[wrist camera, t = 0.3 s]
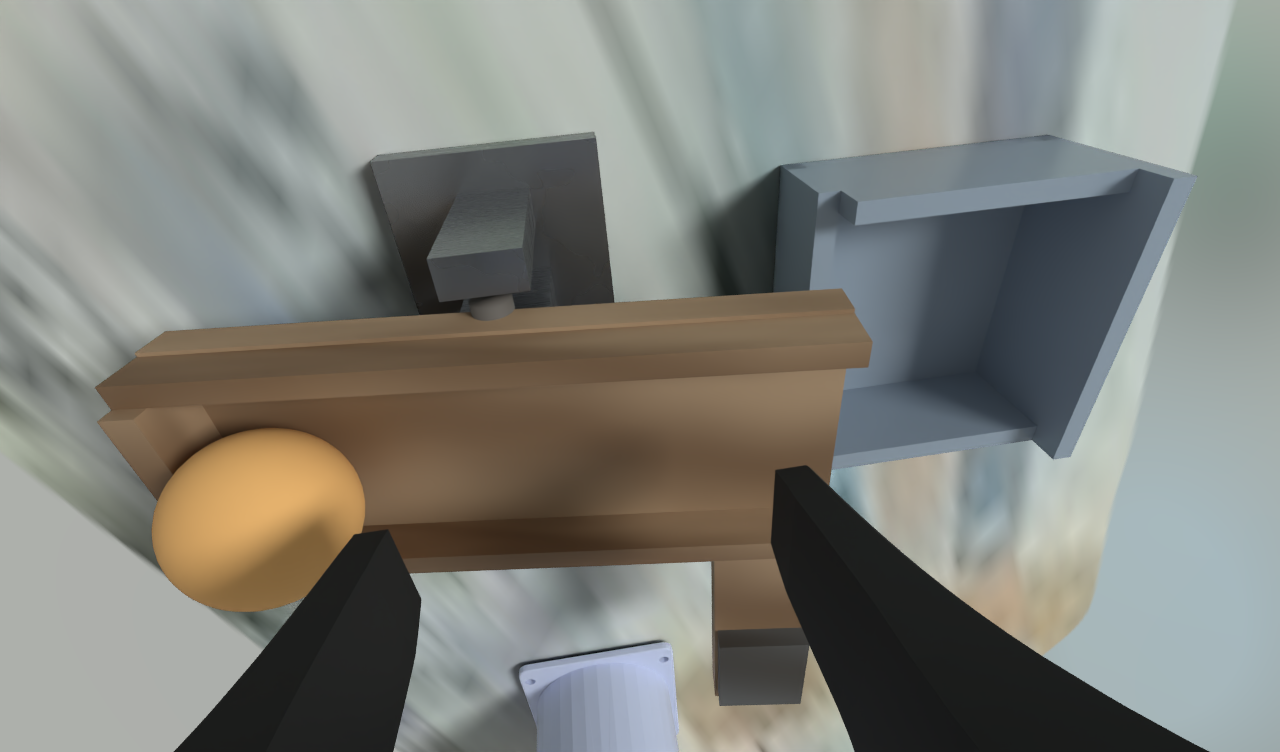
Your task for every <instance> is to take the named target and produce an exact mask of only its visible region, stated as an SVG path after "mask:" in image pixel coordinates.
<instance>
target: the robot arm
mask: <svg viewBox="0 0 1280 752" xmlns="http://www.w3.org/2000/svg"><path fill="white" fill-rule="evenodd" d="M771 546H772V549H773V552H774V555H775V559H776V562H777V565H778V568H779V572H780V575H781V578H782V581H783V584H784V587H785V590H786V593H787V595H788V598H789V600H790V602H791V605H792V607H793V609H794V611H795V614H796V616H797V618H798V620H799V623H800V625H801V627H802V629H803V632H804V634H805V636H806V638H807V641H808V643H809V645H810V647H811V649H812V652H813V654H814V656H815V658H816V661H817V663H818V665H819V667H820V669H821V672H822V674H823V676H824V678H825V681H826V683H827V685H828V687H829V689H830V692H831V694H832V696H833V698H834V701H835V703H836V705H837V707H838V710H839V712H840V714H841V717H842V719H843V722H844V724H845V727H846V729H847V732H848V734H849V737H850V740H851V742H852V745H853V748H854V751H855V752H1209V751H1207V750H1205V749H1203V748H1201V747H1199V746H1197V745H1195V744H1193V743H1191V742H1189V741H1187V740H1186V739H1184V738H1182V737H1180V736H1178V735H1176V734H1175V733H1173V732H1171V731H1169V730H1167V729H1166V728H1164V727H1162V726H1160V725H1158V724H1156V723H1154V722H1153V721H1151V720H1149V719H1147V718H1145V717H1144V716H1142V715H1140V714H1138V713H1136V712H1135V711H1133V710H1131V709H1129V708H1127V707H1126V706H1123V705H1122V704H1121V703H1119V702H1117V701H1115V700H1114V699H1112V698H1110V697H1108V696H1107V695H1105V694H1103V693H1102V692H1100V691H1098V690H1097V689H1095V688H1094V687H1092V686H1090V685H1089V684H1087V683H1085V682H1084V681H1082V680H1080V679H1079V678H1077V677H1076V676H1074V675H1072V674H1070V673H1069V672H1067V671H1066V670H1064V669H1062V668H1061V667H1059V666H1058V665H1056V664H1054V663H1053V662H1051V661H1049V660H1048V659H1046V658H1044V657H1043V656H1041V655H1040V654H1038V653H1037V652H1035V651H1034V650H1032V649H1031V648H1029V647H1028V646H1026V645H1025V644H1023V643H1022V642H1020V641H1019V640H1017V639H1015V638H1014V637H1012V636H1011V635H1009V634H1008V633H1007V632H1005V631H1004V630H1002V629H1001V628H999V627H998V626H997V625H995V624H994V623H992V622H991V621H990V620H988V619H987V618H985V617H984V616H982V615H981V614H980V613H978V612H977V611H975V610H974V609H973V608H971V607H970V606H969V605H967V604H966V603H965V602H963V601H962V600H961V599H959V598H958V597H957V596H955V595H954V594H953V593H951V592H950V591H949V590H948V589H946V588H945V587H944V586H943V585H941V584H940V583H939V582H937V581H936V580H935V579H934V578H932V577H931V576H930V575H929V574H927V573H926V572H925V571H924V570H922V569H921V568H920V567H919V566H918V565H916V564H915V563H914V562H913V561H912V560H910V559H909V558H908V557H907V556H906V555H904V554H903V553H902V552H901V551H900V550H899V549H897V548H896V547H895V546H894V545H893V544H892V543H891V542H889V541H888V540H887V539H886V538H885V537H884V536H883V535H881V534H880V533H879V532H878V531H877V530H876V529H875V528H873V527H872V526H871V525H870V524H869V523H868V522H867V521H866V520H865V519H864V518H862V517H861V516H860V515H859V514H858V513H857V512H856V511H855V510H854V509H853V508H852V507H851V506H850V505H849V504H848V503H846V502H845V501H844V500H843V499H842V498H841V497H840V496H839V495H838V494H837V493H836V492H835V491H834V490H833V489H832V488H831V487H830V486H829V485H828V484H827V483H826V482H825V481H824V480H823V479H822V478H820V477H819V476H818V475H817V474H816V473H815V472H814V471H813V470H812V469H811V468H810V467H809V466H807V465H803V466H797V467H790V468H784V469H777V470H775V481H774V497H773V513H772V529H771ZM420 608H421V597H420V595H419V593H418V591H417V589H416V587H415V585H414V583H413V581H412V578H411V576H410V574H409V572H408V570H407V568H406V566H405V564H404V561H403V559H402V557H401V555H400V553H399V551H398V549H397V547H396V545H395V542H394V540H393V538H392V536H391V534H390V532H389V530H388V529H386V530H379V531H373V532H366V533H360V534H354V535H353V536H352V538H351V539H350V540H349V542H348V543H347V544H346V545H345V547H344V548H343V549H342V550H341V552H340V553H339V554H338V555H337V557H336V558H335V559H334V561H333V562H332V563H331V564H330V566H329V567H328V568H327V570H326V571H325V572H324V574H323V575H322V576H321V578H320V579H319V580H318V581H317V583H316V584H315V585H314V587H313V588H312V589H311V591H310V592H309V593H308V594H307V596H306V597H305V598H304V600H303V601H302V602H301V603H300V605H299V606H298V607H297V609H296V610H295V611H294V612H293V614H292V615H291V616H290V617H289V619H288V620H287V621H286V622H285V624H284V625H283V626H282V627H281V629H280V630H279V631H278V632H277V634H276V635H275V636H274V637H273V639H272V640H271V641H270V642H269V644H268V645H267V646H266V647H265V649H264V650H263V651H262V652H261V654H260V655H259V656H258V657H257V659H256V660H255V661H254V662H253V663H252V664H251V666H250V667H249V668H248V669H247V670H246V671H245V673H244V674H243V675H242V676H241V677H240V679H239V680H238V681H237V682H236V683H235V684H234V685H233V687H232V688H231V689H230V690H229V691H228V693H227V694H226V695H225V696H224V697H223V698H222V700H221V701H220V702H219V703H218V704H217V705H216V706H215V708H214V709H213V710H212V711H211V712H210V713H209V714H208V716H207V717H206V718H205V719H204V720H203V721H202V722H201V723H200V724H199V725H198V726H197V728H196V729H195V730H194V731H193V732H192V733H191V734H190V735H189V736H188V737H187V738H186V739H185V740H184V742H183V743H182V744H181V745H180V746H179V747H178V748H177V749H176V750H175V751H174V752H393V750H394V746H395V742H396V738H397V733H398V729H399V725H400V721H401V717H402V712H403V708H404V704H405V699H406V695H407V691H408V686H409V682H410V678H411V673H412V669H413V664H414V659H415V654H416V646H417V638H418V630H419V619H420ZM519 679H520V682H521V685H522V688H523V690H524V693H525V696H526V699H527V701H528V704H529V707H530V710H531V713H532V715H533V718H534V721H535V724H536V727H537V752H679V748H678V742H677V736H676V735H677V734H678V732H679V726H678V713H677V701H676V688H675V675H674V663H673V651H672V646H671V644H669V643H667V642H660V643H654V644H648V645H642V646H636V647H630V648H624V649H618V650H612V651H606V652H600V653H594V654H588V655H582V656H576V657H570V658H564V659H558V660H552V661H546V662H540V663H534V664H528V665H524V666H522V667H521V668H520V669H519Z"/></svg>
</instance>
